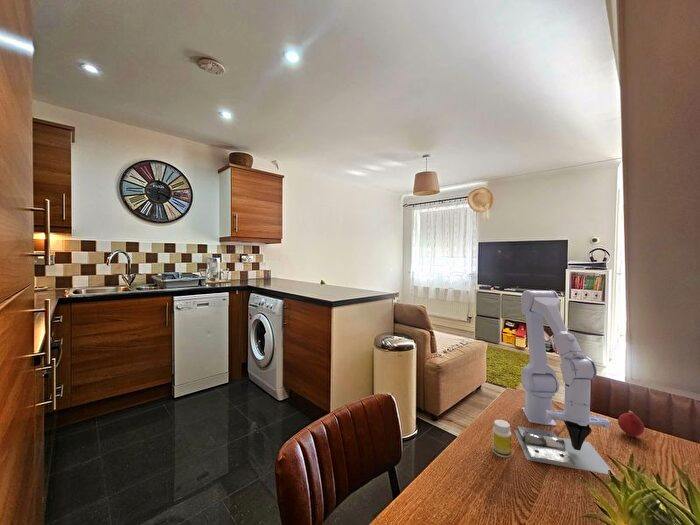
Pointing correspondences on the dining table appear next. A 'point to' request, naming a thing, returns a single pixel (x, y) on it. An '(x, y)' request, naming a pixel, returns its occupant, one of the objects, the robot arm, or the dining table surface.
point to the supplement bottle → (501, 438)
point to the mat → (579, 456)
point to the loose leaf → (551, 452)
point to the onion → (631, 424)
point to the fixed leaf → (534, 436)
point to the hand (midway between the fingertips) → (576, 447)
